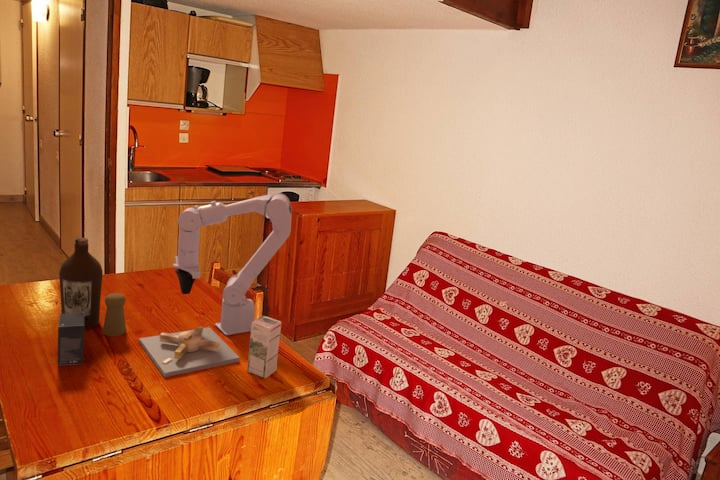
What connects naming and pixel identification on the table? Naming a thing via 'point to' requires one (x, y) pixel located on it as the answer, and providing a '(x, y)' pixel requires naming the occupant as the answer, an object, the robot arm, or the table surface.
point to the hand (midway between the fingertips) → (185, 293)
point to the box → (71, 339)
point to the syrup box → (264, 346)
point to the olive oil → (81, 284)
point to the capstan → (189, 342)
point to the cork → (114, 315)
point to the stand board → (187, 354)
